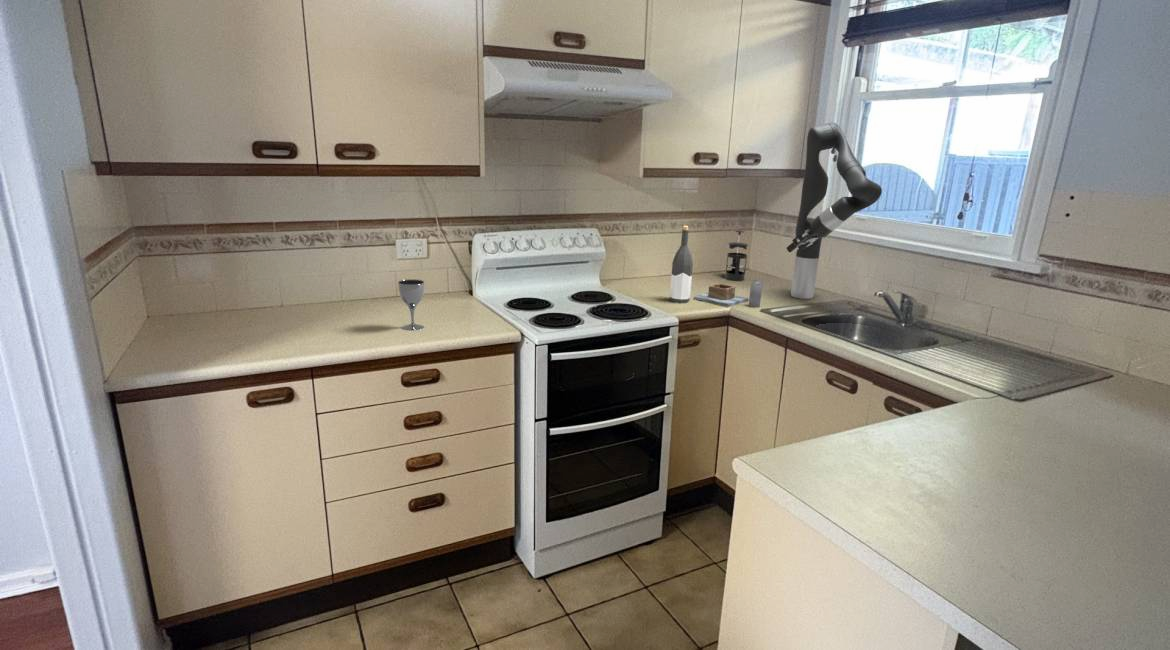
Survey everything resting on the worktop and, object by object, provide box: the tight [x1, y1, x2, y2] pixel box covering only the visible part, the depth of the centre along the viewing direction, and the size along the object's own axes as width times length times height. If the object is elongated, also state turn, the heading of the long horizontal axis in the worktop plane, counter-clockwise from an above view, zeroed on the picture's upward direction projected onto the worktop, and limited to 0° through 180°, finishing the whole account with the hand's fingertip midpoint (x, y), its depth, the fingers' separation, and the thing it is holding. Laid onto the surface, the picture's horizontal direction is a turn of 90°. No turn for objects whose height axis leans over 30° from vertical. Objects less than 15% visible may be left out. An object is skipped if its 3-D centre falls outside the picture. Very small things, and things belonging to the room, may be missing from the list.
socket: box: [693, 283, 749, 308], centre depth 257 cm, size 16×16×6 cm
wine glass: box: [397, 278, 425, 331], centre depth 202 cm, size 8×8×15 cm
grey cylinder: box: [748, 279, 764, 308], centre depth 249 cm, size 4×4×10 cm
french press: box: [724, 230, 749, 282], centre depth 297 cm, size 12×9×23 cm
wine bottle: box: [669, 225, 694, 304], centre depth 249 cm, size 8×8×30 cm
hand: (793, 249), depth 234 cm, fingers open, 8 cm apart
